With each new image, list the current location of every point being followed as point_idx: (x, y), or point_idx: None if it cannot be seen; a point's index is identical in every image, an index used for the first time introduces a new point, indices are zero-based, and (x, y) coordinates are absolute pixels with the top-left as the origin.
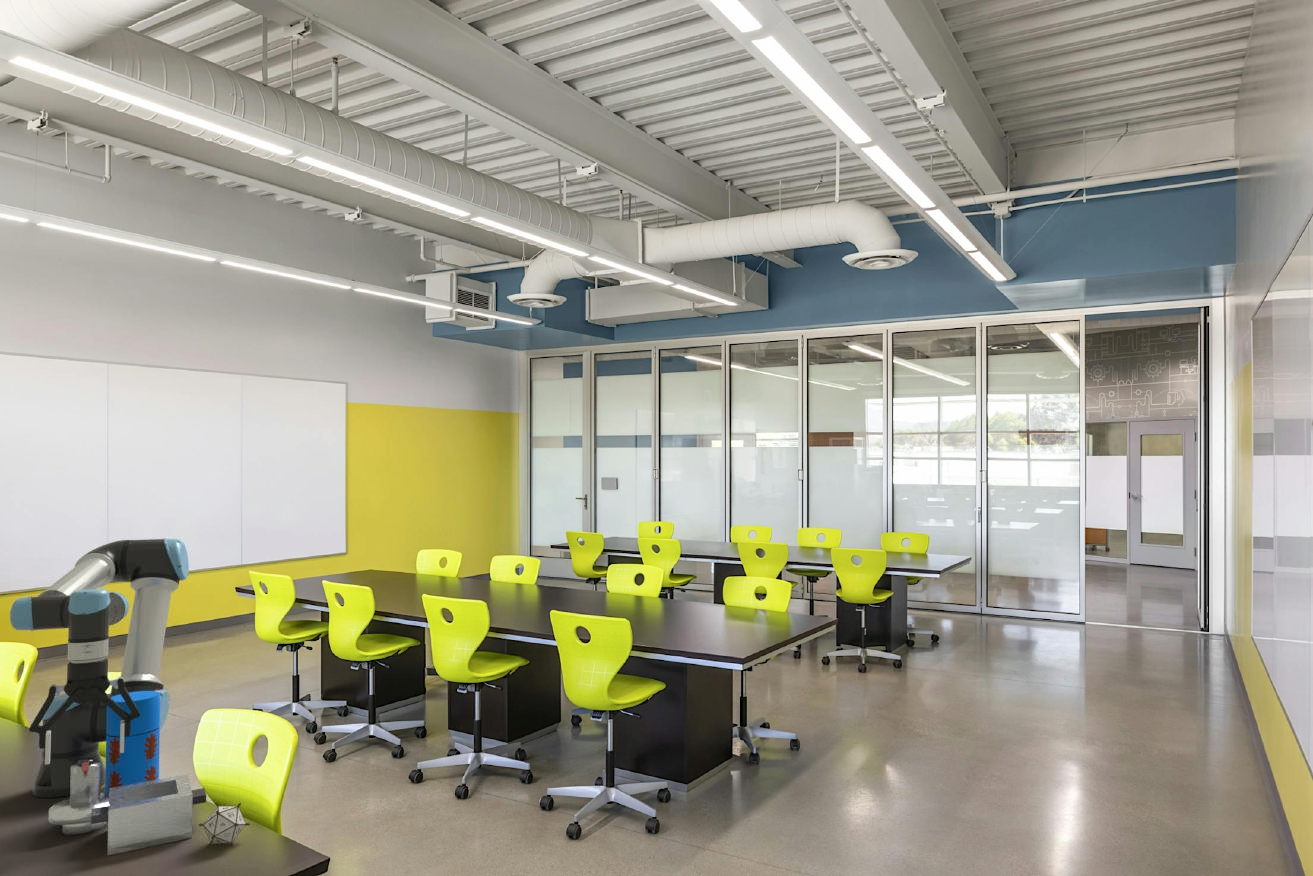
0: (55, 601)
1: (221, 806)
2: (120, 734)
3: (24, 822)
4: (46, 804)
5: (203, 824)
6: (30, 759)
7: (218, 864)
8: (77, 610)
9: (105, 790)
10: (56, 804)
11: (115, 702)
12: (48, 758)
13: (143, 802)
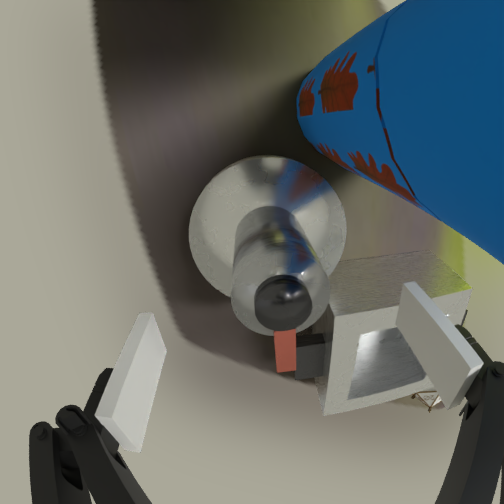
0: None
1: None
2: (427, 373)
3: (131, 127)
4: (155, 22)
5: (416, 393)
6: None
7: (400, 402)
8: None
9: (305, 119)
10: (197, 210)
11: (492, 478)
12: (160, 367)
13: (374, 401)
